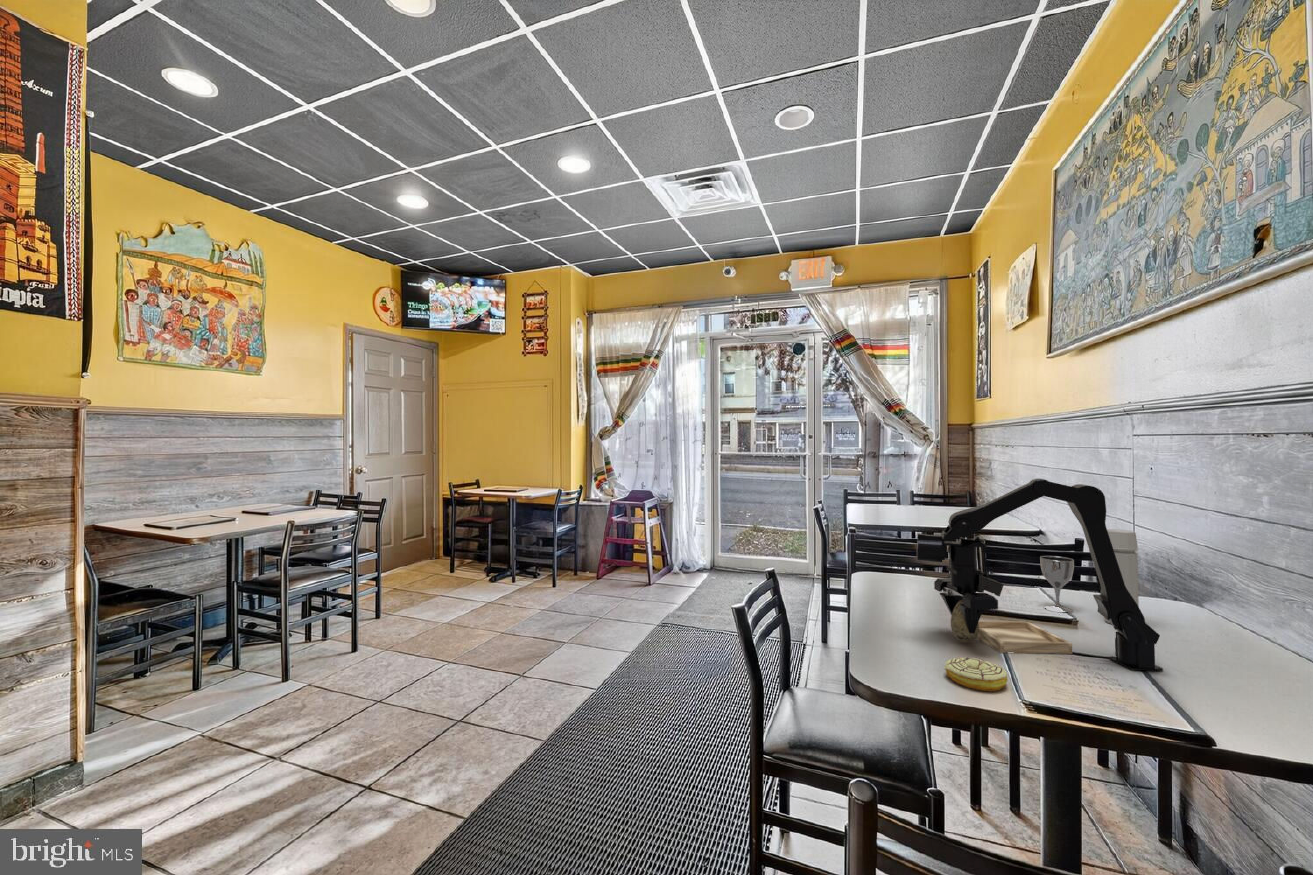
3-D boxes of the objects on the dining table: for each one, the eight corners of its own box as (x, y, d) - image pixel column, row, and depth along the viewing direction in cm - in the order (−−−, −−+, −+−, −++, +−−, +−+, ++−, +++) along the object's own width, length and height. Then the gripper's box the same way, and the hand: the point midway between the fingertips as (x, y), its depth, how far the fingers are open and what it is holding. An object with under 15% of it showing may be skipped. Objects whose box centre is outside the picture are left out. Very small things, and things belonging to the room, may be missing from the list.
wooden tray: (1072, 654, 123) (1072, 643, 123) (1000, 652, 124) (1000, 642, 124) (1027, 630, 139) (1027, 621, 139) (964, 629, 140) (964, 620, 140)
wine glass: (1063, 605, 161) (1062, 555, 162) (1081, 613, 153) (1080, 561, 154) (1035, 605, 162) (1034, 555, 163) (1052, 613, 154) (1050, 560, 155)
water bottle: (1147, 629, 140) (1145, 533, 141) (1113, 627, 142) (1111, 532, 142) (1124, 618, 149) (1122, 528, 150) (1092, 616, 151) (1090, 527, 151)
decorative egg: (947, 641, 130) (946, 599, 130) (956, 635, 134) (955, 595, 134) (974, 647, 126) (973, 604, 126) (982, 641, 130) (981, 599, 130)
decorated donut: (965, 668, 116) (965, 650, 116) (1018, 687, 106) (1018, 668, 106) (934, 677, 111) (934, 658, 111) (987, 698, 101) (986, 678, 101)
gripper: (1021, 572, 121) (1023, 642, 120) (976, 556, 139) (977, 617, 139) (970, 572, 121) (972, 642, 121) (932, 556, 140) (933, 616, 140)
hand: (964, 628), depth 130 cm, fingers closed on decorative egg, 6 cm apart
